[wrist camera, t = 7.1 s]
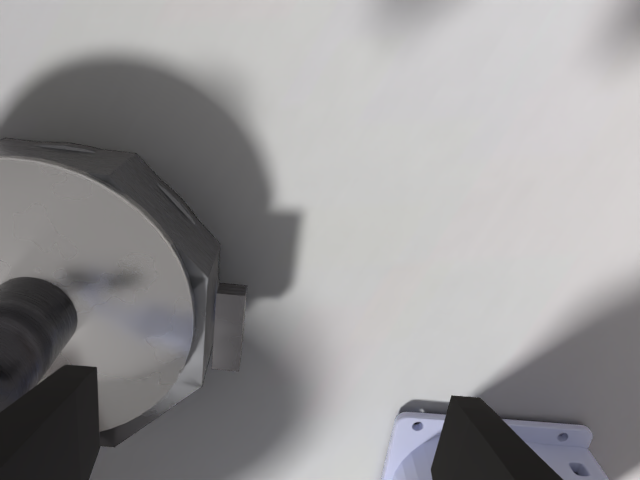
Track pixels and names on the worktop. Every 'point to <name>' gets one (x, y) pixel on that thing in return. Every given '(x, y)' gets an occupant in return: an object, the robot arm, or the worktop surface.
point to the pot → (195, 249)
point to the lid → (88, 289)
